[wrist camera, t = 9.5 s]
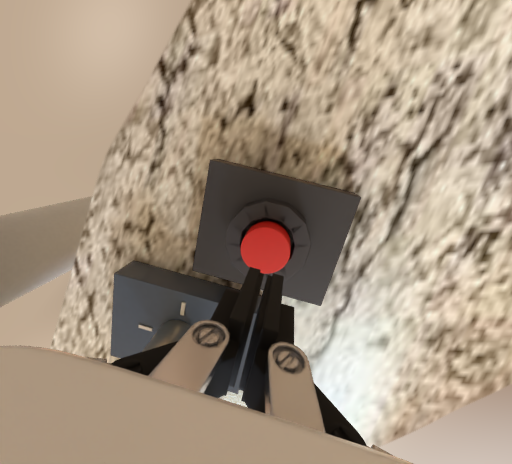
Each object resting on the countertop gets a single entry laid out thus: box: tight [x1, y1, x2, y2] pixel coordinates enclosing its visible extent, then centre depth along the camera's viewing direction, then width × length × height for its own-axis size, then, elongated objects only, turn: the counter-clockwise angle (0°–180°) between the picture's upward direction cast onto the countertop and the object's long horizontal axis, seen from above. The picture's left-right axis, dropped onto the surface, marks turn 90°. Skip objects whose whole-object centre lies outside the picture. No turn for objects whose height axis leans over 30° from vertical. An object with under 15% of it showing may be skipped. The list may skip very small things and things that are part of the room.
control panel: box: [111, 261, 262, 394], centre depth 26 cm, size 14×10×3 cm
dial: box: [142, 320, 191, 352], centre depth 22 cm, size 4×4×5 cm
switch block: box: [192, 159, 361, 306], centre depth 21 cm, size 12×10×4 cm
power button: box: [241, 221, 291, 274], centre depth 19 cm, size 4×4×2 cm
